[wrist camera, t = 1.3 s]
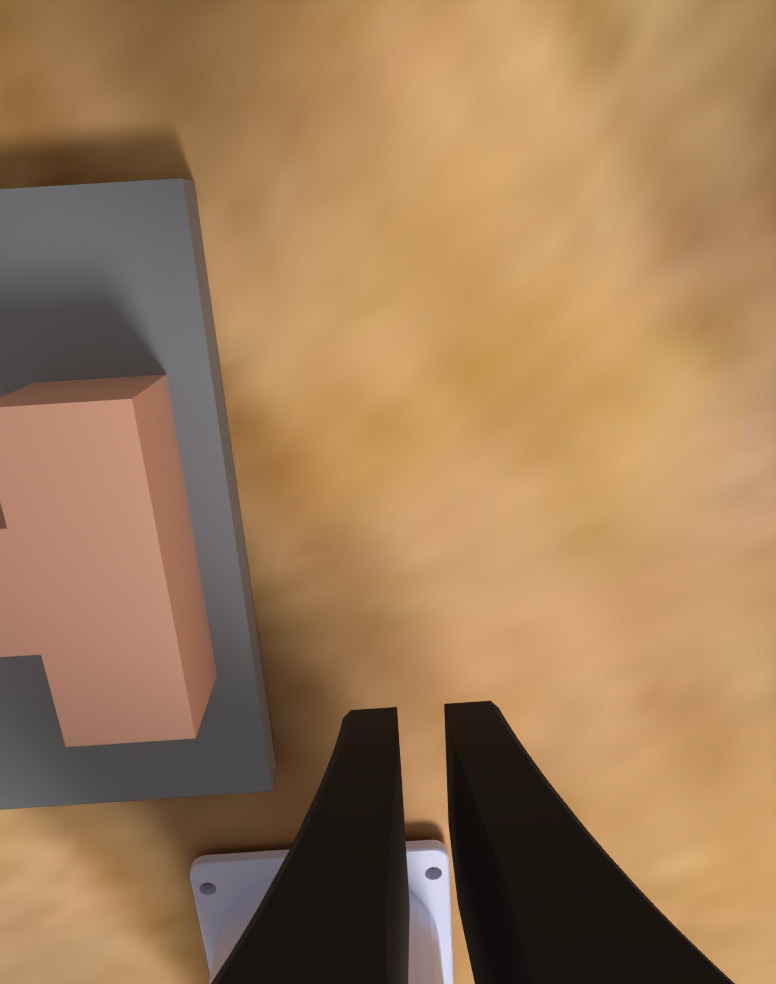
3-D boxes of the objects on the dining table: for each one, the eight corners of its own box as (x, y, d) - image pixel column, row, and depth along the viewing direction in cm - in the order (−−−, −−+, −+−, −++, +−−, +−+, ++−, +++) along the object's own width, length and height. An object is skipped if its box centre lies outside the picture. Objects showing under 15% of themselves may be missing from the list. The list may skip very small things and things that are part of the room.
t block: (216, 674, 19) (195, 738, 16) (-86, 695, 19) (-152, 761, 16) (166, 374, 16) (131, 399, 13) (-190, 396, 16) (-287, 425, 13)
